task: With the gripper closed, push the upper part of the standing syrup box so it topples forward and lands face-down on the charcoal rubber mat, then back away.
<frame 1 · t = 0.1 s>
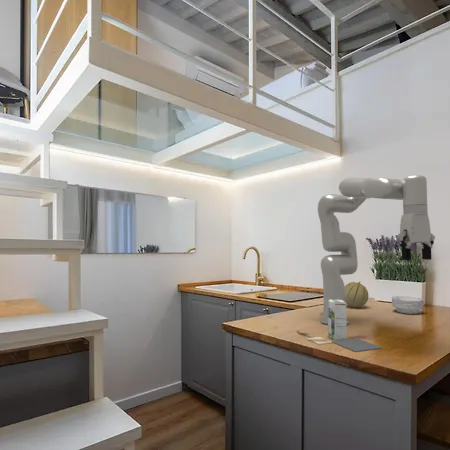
hand: (416, 259, 120), 31 cm above the table, tool pointing down, fingers open, 9 cm apart
turner: (311, 337, 134), on the table
cantaloupe: (355, 307, 200), on the table
mat: (356, 345, 125), on the table
paper bowls: (407, 312, 185), on the table
syrup box: (337, 338, 134), on the table
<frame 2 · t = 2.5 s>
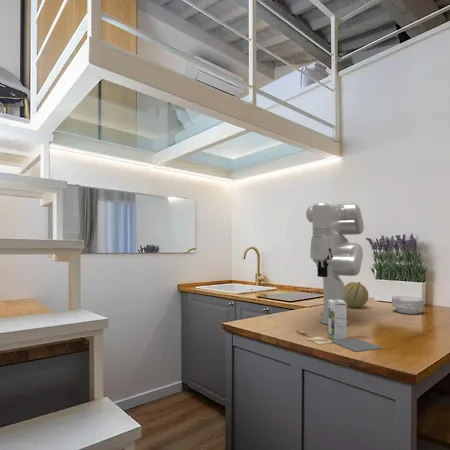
hand: (322, 276, 144), 23 cm above the table, tool pointing down, fingers closed
nothing on the table moved.
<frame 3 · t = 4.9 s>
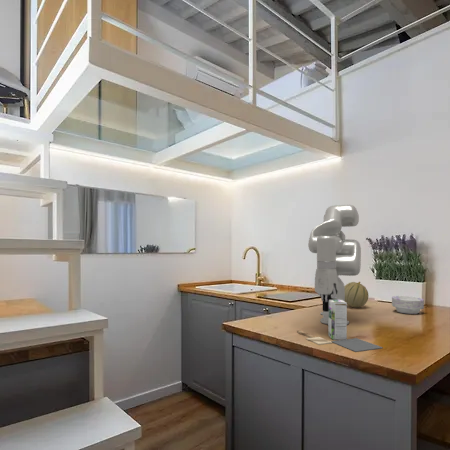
hand: (327, 311, 140), 9 cm above the table, tool pointing down, fingers closed
syrup box: (337, 338, 134), on the table, touching gripper
everything else where it was.
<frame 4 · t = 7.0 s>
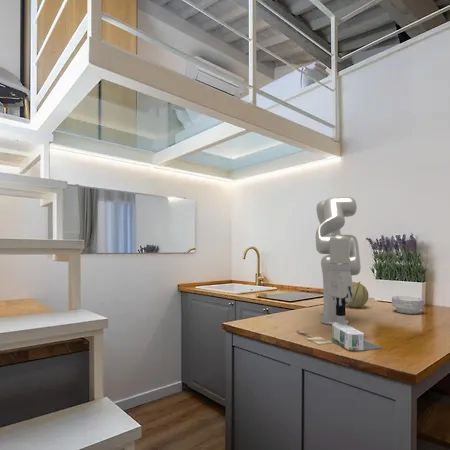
hand: (340, 315, 133), 9 cm above the table, tool pointing down, fingers closed
syrup box: (339, 331, 132), point 3 cm above the table, touching mat
everything else where it was.
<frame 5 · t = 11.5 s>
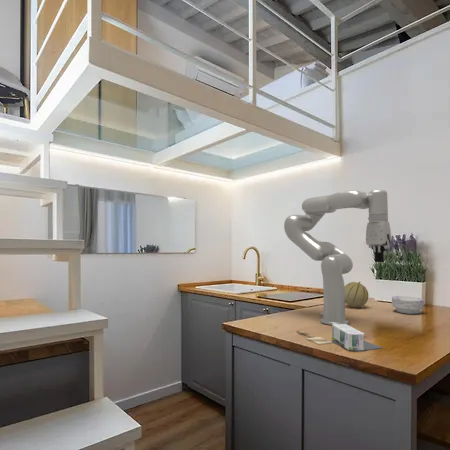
hand: (379, 261, 146), 29 cm above the table, tool pointing down, fingers closed
nothing on the table moved.
at the end: syrup box tilted 90°; syrup box inside the target area (3.7 cm from its centre), point 3.2 cm above the table; the gripper is holding nothing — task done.
